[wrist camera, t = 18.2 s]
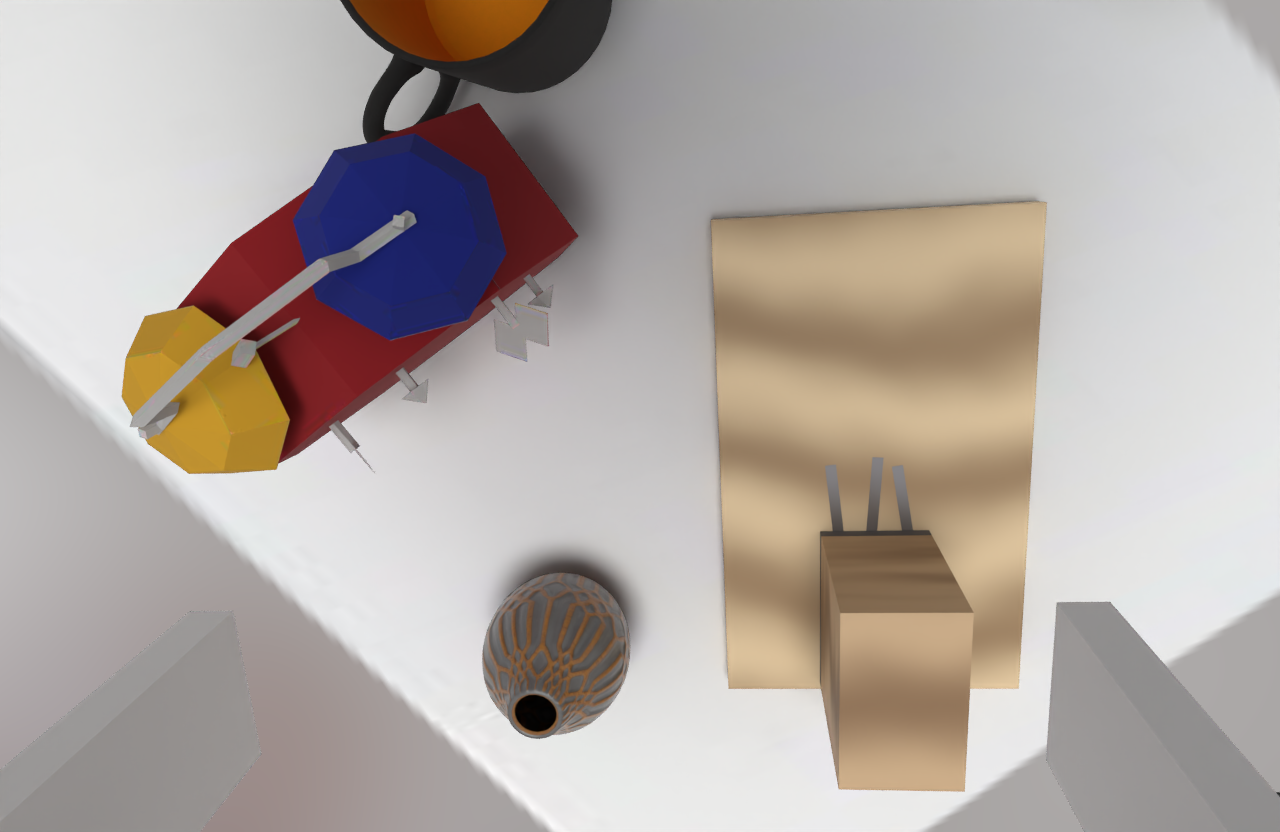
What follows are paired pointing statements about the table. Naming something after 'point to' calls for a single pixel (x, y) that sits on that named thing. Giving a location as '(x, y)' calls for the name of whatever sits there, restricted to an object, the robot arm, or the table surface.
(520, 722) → the vase
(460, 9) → the mug
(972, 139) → the table surface
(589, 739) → the table surface
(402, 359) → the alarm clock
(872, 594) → the wooden block
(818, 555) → the board
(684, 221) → the table surface
